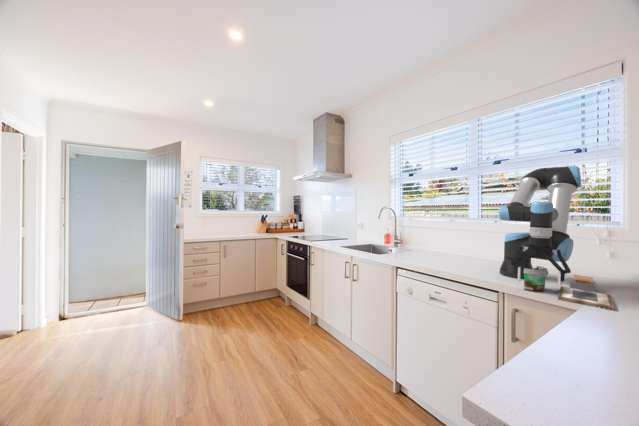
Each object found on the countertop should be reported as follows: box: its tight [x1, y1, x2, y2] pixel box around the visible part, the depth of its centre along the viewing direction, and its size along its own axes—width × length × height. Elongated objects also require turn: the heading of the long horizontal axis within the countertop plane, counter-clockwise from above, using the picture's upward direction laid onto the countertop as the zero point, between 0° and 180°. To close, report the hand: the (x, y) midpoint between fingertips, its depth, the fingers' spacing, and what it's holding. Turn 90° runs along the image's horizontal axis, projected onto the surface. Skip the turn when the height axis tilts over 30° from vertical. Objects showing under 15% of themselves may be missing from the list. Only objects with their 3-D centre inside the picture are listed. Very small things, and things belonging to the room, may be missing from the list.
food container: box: [523, 265, 549, 293], centre depth 115 cm, size 12×6×10 cm, turn 117°
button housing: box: [569, 277, 597, 292], centre depth 119 cm, size 8×8×3 cm
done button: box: [572, 274, 594, 284], centre depth 119 cm, size 6×6×4 cm
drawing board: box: [557, 285, 615, 311], centre depth 106 cm, size 15×20×1 cm
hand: (538, 284), depth 115 cm, fingers open, 13 cm apart
